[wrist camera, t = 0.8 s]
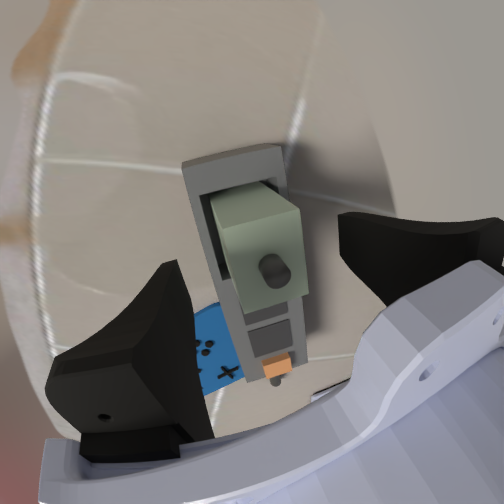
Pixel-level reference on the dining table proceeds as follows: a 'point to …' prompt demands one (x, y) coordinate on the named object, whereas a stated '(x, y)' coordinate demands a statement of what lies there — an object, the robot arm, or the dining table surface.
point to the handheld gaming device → (215, 350)
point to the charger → (260, 244)
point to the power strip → (239, 324)
